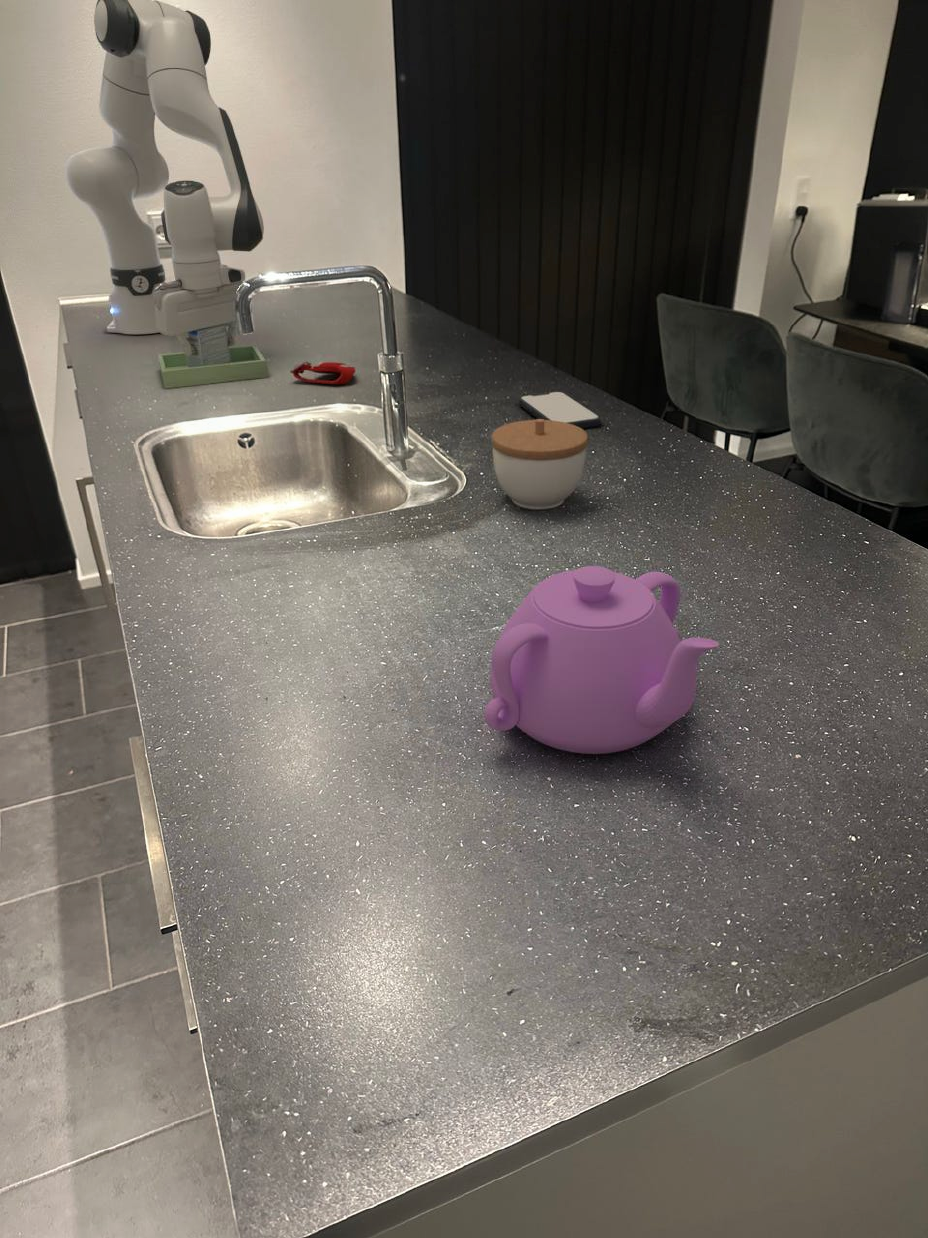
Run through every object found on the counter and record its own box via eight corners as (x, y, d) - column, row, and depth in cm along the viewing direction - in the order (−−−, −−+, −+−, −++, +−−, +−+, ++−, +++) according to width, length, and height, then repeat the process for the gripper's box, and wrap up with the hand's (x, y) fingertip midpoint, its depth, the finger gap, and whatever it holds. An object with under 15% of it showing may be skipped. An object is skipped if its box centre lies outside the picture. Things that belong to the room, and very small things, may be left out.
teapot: (597, 848, 66) (609, 694, 59) (431, 708, 81) (424, 573, 74) (786, 736, 77) (815, 594, 70) (608, 631, 92) (617, 507, 85)
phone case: (603, 427, 149) (561, 399, 162) (604, 418, 148) (561, 390, 161) (554, 434, 146) (516, 405, 159) (554, 425, 145) (516, 396, 158)
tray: (160, 370, 184) (157, 354, 182) (257, 360, 189) (255, 344, 188) (165, 388, 173) (162, 371, 171) (267, 377, 178) (265, 360, 177)
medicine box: (215, 363, 185) (209, 319, 181) (232, 365, 183) (226, 321, 179) (187, 372, 179) (180, 327, 175) (204, 375, 177) (197, 330, 173)
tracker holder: (340, 364, 181) (367, 361, 173) (340, 387, 182) (367, 385, 174) (285, 360, 174) (310, 357, 166) (286, 384, 174) (311, 382, 167)
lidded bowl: (558, 476, 130) (561, 400, 124) (601, 508, 119) (606, 427, 114) (477, 489, 126) (476, 412, 120) (514, 524, 116) (515, 441, 110)
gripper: (161, 286, 163) (175, 363, 170) (251, 269, 176) (261, 341, 183) (141, 283, 167) (156, 358, 174) (231, 267, 180) (241, 337, 187)
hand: (210, 349), depth 179 cm, fingers closed on medicine box, 8 cm apart
